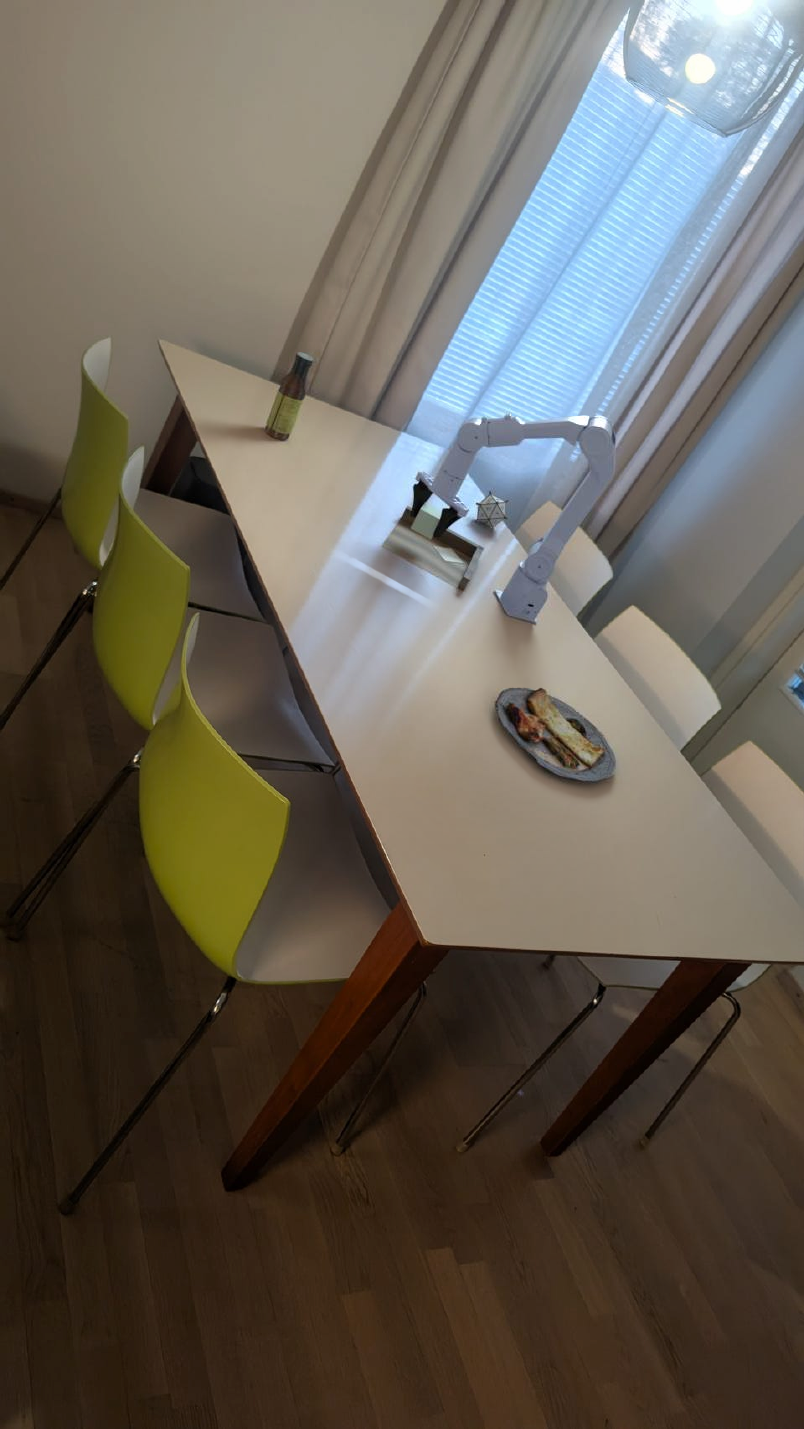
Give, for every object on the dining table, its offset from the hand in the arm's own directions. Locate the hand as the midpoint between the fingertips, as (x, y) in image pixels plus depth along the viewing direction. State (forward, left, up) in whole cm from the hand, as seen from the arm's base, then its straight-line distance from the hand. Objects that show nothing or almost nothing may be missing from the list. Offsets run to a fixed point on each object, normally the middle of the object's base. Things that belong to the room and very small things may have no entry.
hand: (425, 526), depth 228 cm
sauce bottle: (+39, +26, -7) cm, 48 cm away
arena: (-1, -4, -6) cm, 8 cm away
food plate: (-60, -12, -7) cm, 61 cm away
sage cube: (0, 0, -1) cm, 1 cm away
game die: (+25, -28, -7) cm, 38 cm away
